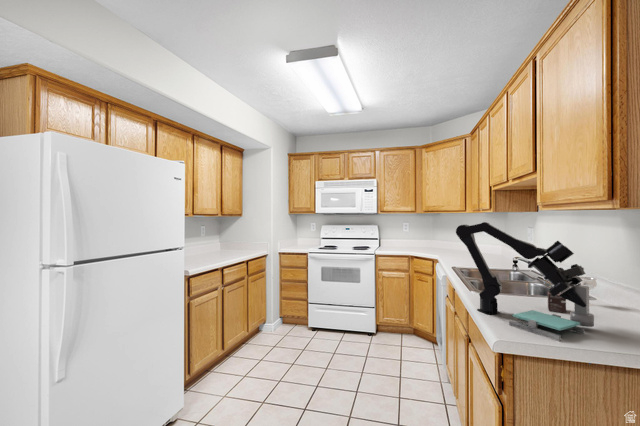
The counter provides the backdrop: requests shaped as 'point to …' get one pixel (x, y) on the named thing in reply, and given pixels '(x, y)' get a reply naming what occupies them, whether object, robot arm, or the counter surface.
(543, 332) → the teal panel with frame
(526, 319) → the trapdoor
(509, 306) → the counter surface
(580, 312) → the gray metal handle
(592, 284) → the wineglass
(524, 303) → the counter surface
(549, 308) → the box
